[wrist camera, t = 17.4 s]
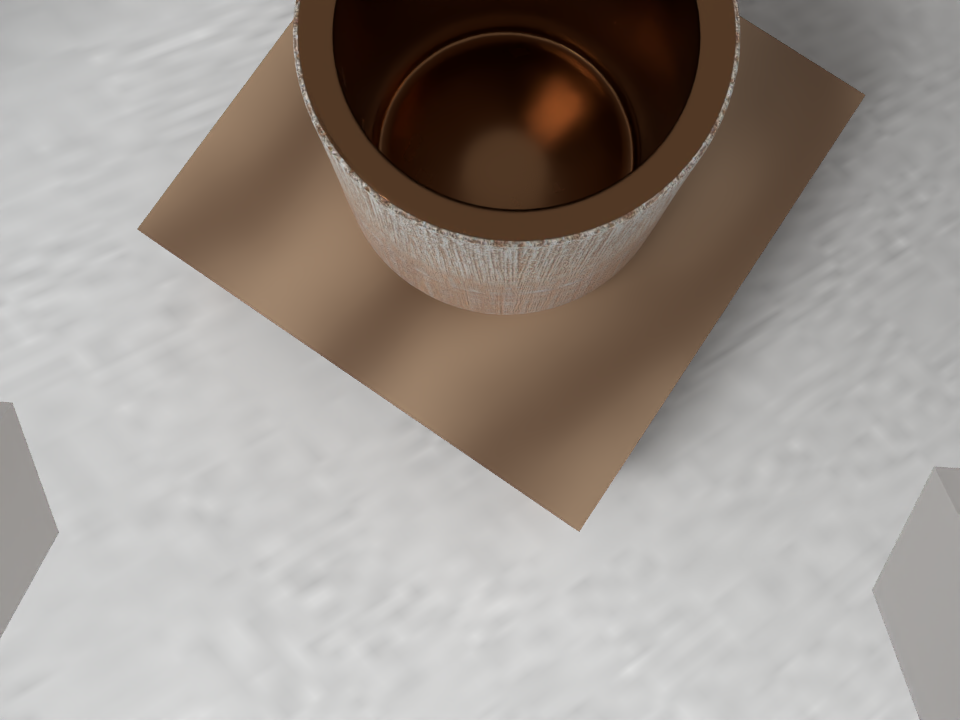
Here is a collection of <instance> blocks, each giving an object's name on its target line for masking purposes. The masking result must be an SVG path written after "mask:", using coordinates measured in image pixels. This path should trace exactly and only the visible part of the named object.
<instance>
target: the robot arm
mask: <svg viewBox="0 0 960 720" xmlns="http://www.w3.org/2000/svg"><path fill="white" fill-rule="evenodd" d="M58 533H59V532H58V529H57V526H56V523H55V521H54V518H53V515H52V512H51V509H50V507H49V504H48V501H47V498H46V495H45V493H44V490H43V487H42V484H41V481H40V479H39V476H38V473H37V470H36V467H35V465H34V462H33V459H32V456H31V453H30V451H29V448H28V445H27V442H26V439H25V437H24V434H23V431H22V428H21V425H20V423H19V420H18V417H17V414H16V411H15V409H14V406H13V403H9V402H0V638H1V636H2V634H3V632H4V631H5V629H6V627H7V625H8V623H9V621H10V620H11V618H12V616H13V614H14V612H15V611H16V609H17V607H18V605H19V603H20V602H21V600H22V598H23V596H24V594H25V593H26V591H27V589H28V587H29V585H30V584H31V582H32V580H33V578H34V576H35V575H36V573H37V571H38V569H39V567H40V565H41V564H42V562H43V560H44V558H45V556H46V555H47V553H48V551H49V549H50V547H51V546H52V544H53V542H54V540H55V538H56V537H57V535H58ZM872 591H873V593H874V596H875V599H876V602H877V604H878V607H879V610H880V613H881V615H882V618H883V621H884V623H885V626H886V629H887V632H888V634H889V637H890V640H891V643H892V645H893V648H894V651H895V653H896V656H897V659H898V662H899V664H900V667H901V670H902V672H903V675H904V678H905V681H906V683H907V686H908V689H909V692H910V694H911V697H912V700H913V702H914V705H915V708H916V711H917V713H918V716H919V719H920V720H960V469H959V468H945V467H934V468H933V470H932V472H931V474H930V476H929V478H928V480H927V482H926V484H925V486H924V488H923V490H922V492H921V494H920V496H919V498H918V500H917V502H916V504H915V506H914V508H913V510H912V512H911V514H910V516H909V518H908V520H907V522H906V524H905V526H904V528H903V530H902V532H901V534H900V536H899V538H898V540H897V542H896V544H895V546H894V548H893V550H892V552H891V554H890V556H889V558H888V560H887V562H886V564H885V566H884V568H883V570H882V572H881V574H880V576H879V577H878V579H877V581H876V583H875V585H874V587H873V589H872Z"/></svg>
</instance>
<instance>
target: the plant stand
mask: <svg viewBox="0 0 960 720" xmlns="http://www.w3.org/2000/svg"><path fill="white" fill-rule="evenodd" d="M739 18H740V55H739V63H738V70H737V75H736V80H735V84H734V89H733V92H732V95H731V98H730V102H729V105H728V107H727V110H726V112H725V115H724V117H723V120H722V122H721V124H720V126H719V128H718V130H717V132H716V134H715V136H714V138H713V139H712V141H711V143H710V144H709V146H708V148H707V149H706V151H705V152H704V154H703V155H702V157H701V158H700V160H699V161H698V163H697V164H696V165H695V167H694V168H693V170H692V171H691V172H690V174H689V175H688V177H687V178H686V180H685V181H684V183H683V184H682V185H681V187H680V188H679V190H678V191H677V193H676V194H675V196H674V197H673V199H672V201H671V202H670V204H669V205H668V207H667V208H666V210H665V211H664V213H663V214H662V216H661V218H660V219H659V221H658V222H657V224H656V225H655V227H654V228H653V230H652V231H651V233H650V234H649V236H648V237H647V239H646V240H645V242H644V243H643V244H642V246H641V247H640V249H639V250H638V251H637V253H636V254H635V255H634V256H633V257H632V258H631V260H630V261H629V262H628V263H627V264H626V265H625V266H624V267H623V268H622V269H621V270H620V271H619V272H618V273H616V274H615V275H614V276H613V277H612V278H610V279H609V280H608V281H606V282H605V283H604V284H602V285H601V286H599V287H598V288H596V289H595V290H593V291H591V292H590V293H588V294H586V295H584V296H582V297H580V298H578V299H576V300H573V301H571V302H569V303H566V304H563V305H560V306H557V307H554V308H551V309H548V310H543V311H539V312H534V313H527V314H515V315H496V314H485V313H479V312H473V311H469V310H465V309H461V308H458V307H455V306H452V305H449V304H446V303H444V302H441V301H439V300H437V299H435V298H433V297H431V296H429V295H427V294H425V293H424V292H422V291H420V290H419V289H417V288H415V287H414V286H412V285H411V284H410V283H408V282H407V281H405V280H404V279H403V278H401V277H400V276H399V275H398V274H397V273H396V272H394V271H393V270H392V269H391V268H390V267H389V266H388V265H387V264H386V263H385V262H384V261H383V260H382V258H381V257H380V256H379V255H378V254H377V253H376V251H375V250H374V249H373V247H372V246H371V245H370V243H369V242H368V240H367V239H366V237H365V235H364V234H363V232H362V230H361V229H360V227H359V225H358V223H357V221H356V219H355V216H354V214H353V212H352V210H351V208H350V205H349V203H348V201H347V198H346V196H345V194H344V191H343V189H342V186H341V184H340V182H339V179H338V177H337V175H336V172H335V170H334V168H333V166H332V163H331V161H330V159H329V157H328V154H327V152H326V150H325V148H324V146H323V144H322V141H321V139H320V137H319V135H318V133H317V131H316V129H315V127H314V124H313V122H312V120H311V117H310V115H309V112H308V110H307V108H306V105H305V102H304V99H303V95H302V92H301V89H300V85H299V81H298V76H297V72H296V65H295V58H294V47H293V21H292V22H291V23H290V25H289V26H288V27H287V29H286V30H285V31H284V33H283V34H282V35H281V37H280V38H279V39H278V41H277V42H276V43H275V45H274V46H273V47H272V49H271V50H270V51H269V53H268V54H267V55H266V57H265V58H264V59H263V61H262V62H261V64H260V65H259V66H258V68H257V69H256V70H255V72H254V73H253V74H252V76H251V77H250V78H249V80H248V81H247V82H246V84H245V85H244V86H243V88H242V89H241V90H240V92H239V93H238V94H237V96H236V97H235V98H234V100H233V101H232V103H231V104H230V105H229V107H228V108H227V109H226V111H225V112H224V113H223V115H222V116H221V117H220V119H219V120H218V121H217V123H216V124H215V125H214V127H213V128H212V129H211V131H210V132H209V133H208V135H207V136H206V137H205V139H204V140H203V141H202V143H201V144H200V146H199V147H198V148H197V150H196V151H195V152H194V154H193V155H192V156H191V158H190V159H189V160H188V162H187V163H186V164H185V166H184V167H183V168H182V170H181V171H180V172H179V174H178V175H177V176H176V178H175V179H174V180H173V182H172V183H171V185H170V186H169V187H168V189H167V190H166V191H165V193H164V194H163V195H162V197H161V198H160V199H159V201H158V202H157V203H156V205H155V206H154V207H153V209H152V210H151V211H150V213H149V214H148V215H147V217H146V218H145V219H144V221H143V222H142V223H141V225H140V226H139V228H138V230H139V231H141V232H142V233H143V234H145V235H146V236H148V237H149V238H151V239H152V240H153V241H155V242H156V243H158V244H159V245H161V246H162V247H164V248H165V249H167V250H168V251H169V252H171V253H172V254H174V255H175V256H177V257H178V258H180V259H181V260H183V261H184V262H186V263H187V264H188V265H190V266H191V267H193V268H194V269H196V270H197V271H199V272H200V273H202V274H203V275H205V276H206V277H207V278H209V279H210V280H212V281H213V282H215V283H216V284H218V285H219V286H221V287H222V288H224V289H225V290H226V291H228V292H229V293H231V294H232V295H234V296H235V297H237V298H238V299H240V300H241V301H243V302H244V303H245V304H247V305H248V306H250V307H251V308H253V309H254V310H256V311H257V312H259V313H260V314H262V315H263V316H264V317H266V318H267V319H269V320H270V321H272V322H273V323H275V324H276V325H278V326H279V327H281V328H282V329H283V330H285V331H286V332H288V333H289V334H291V335H292V336H294V337H295V338H297V339H298V340H300V341H301V342H302V343H304V344H305V345H307V346H308V347H310V348H311V349H313V350H314V351H316V352H317V353H319V354H320V355H321V356H323V357H324V358H326V359H327V360H329V361H330V362H332V363H333V364H335V365H336V366H338V367H339V368H340V369H342V370H343V371H345V372H346V373H348V374H349V375H351V376H352V377H354V378H355V379H357V380H358V381H359V382H361V383H362V384H364V385H365V386H367V387H368V388H370V389H371V390H373V391H374V392H376V393H377V394H378V395H380V396H381V397H383V398H384V399H386V400H387V401H389V402H390V403H392V404H393V405H395V406H396V407H397V408H399V409H400V410H402V411H403V412H405V413H406V414H408V415H409V416H411V417H412V418H414V419H415V420H416V421H418V422H419V423H421V424H422V425H424V426H425V427H427V428H428V429H430V430H431V431H433V432H434V433H435V434H437V435H438V436H440V437H441V438H443V439H444V440H446V441H447V442H449V443H450V444H452V445H453V446H454V447H456V448H457V449H459V450H460V451H462V452H463V453H465V454H466V455H468V456H469V457H471V458H472V459H473V460H475V461H476V462H478V463H479V464H481V465H482V466H484V467H485V468H487V469H488V470H490V471H491V472H492V473H494V474H495V475H497V476H498V477H500V478H501V479H503V480H504V481H506V482H507V483H509V484H510V485H511V486H513V487H514V488H516V489H517V490H519V491H520V492H522V493H523V494H525V495H526V496H528V497H529V498H530V499H532V500H533V501H535V502H536V503H538V504H539V505H541V506H542V507H544V508H545V509H547V510H548V511H549V512H551V513H552V514H554V515H555V516H557V517H558V518H560V519H561V520H563V521H564V522H566V523H567V524H568V525H570V526H571V527H573V528H574V529H576V530H577V531H580V530H581V528H582V526H583V525H584V523H585V522H586V520H587V519H588V517H589V516H590V514H591V513H592V511H593V510H594V508H595V507H596V505H597V504H598V502H599V501H600V499H601V498H602V496H603V494H604V493H605V491H606V490H607V488H608V487H609V485H610V484H611V482H612V481H613V479H614V478H615V476H616V475H617V473H618V472H619V470H620V469H621V467H622V466H623V464H624V462H625V461H626V459H627V458H628V456H629V455H630V453H631V452H632V450H633V449H634V447H635V446H636V444H637V443H638V441H639V440H640V438H641V437H642V435H643V434H644V432H645V430H646V429H647V427H648V426H649V424H650V423H651V421H652V420H653V418H654V417H655V415H656V414H657V412H658V411H659V409H660V408H661V406H662V405H663V403H664V401H665V400H666V398H667V397H668V395H669V394H670V392H671V391H672V389H673V388H674V386H675V385H676V383H677V382H678V380H679V379H680V377H681V376H682V374H683V373H684V371H685V369H686V368H687V366H688V365H689V363H690V362H691V360H692V359H693V357H694V356H695V354H696V353H697V351H698V350H699V348H700V347H701V345H702V344H703V342H704V341H705V339H706V337H707V336H708V334H709V333H710V331H711V330H712V328H713V327H714V325H715V324H716V322H717V321H718V319H719V318H720V316H721V315H722V313H723V312H724V310H725V309H726V307H727V305H728V304H729V302H730V301H731V299H732V298H733V296H734V295H735V293H736V292H737V290H738V289H739V287H740V286H741V284H742V283H743V281H744V280H745V278H746V276H747V275H748V273H749V272H750V270H751V269H752V267H753V266H754V264H755V263H756V261H757V260H758V258H759V257H760V255H761V254H762V252H763V251H764V249H765V248H766V246H767V244H768V243H769V241H770V240H771V238H772V237H773V235H774V234H775V232H776V231H777V229H778V228H779V226H780V225H781V223H782V222H783V220H784V219H785V217H786V216H787V214H788V212H789V211H790V209H791V208H792V206H793V205H794V203H795V202H796V200H797V199H798V197H799V196H800V194H801V193H802V191H803V190H804V188H805V187H806V185H807V184H808V182H809V180H810V179H811V177H812V176H813V174H814V173H815V171H816V170H817V168H818V167H819V165H820V164H821V162H822V161H823V159H824V158H825V156H826V155H827V153H828V151H829V150H830V148H831V147H832V145H833V144H834V142H835V141H836V139H837V138H838V136H839V135H840V133H841V132H842V130H843V129H844V127H845V126H846V124H847V123H848V121H849V119H850V118H851V116H852V115H853V113H854V112H855V110H856V109H857V107H858V106H859V104H860V103H861V101H862V100H863V98H864V97H865V95H864V94H863V93H861V92H860V91H858V90H857V89H855V88H853V87H852V86H850V85H849V84H847V83H845V82H844V81H842V80H841V79H839V78H837V77H836V76H834V75H833V74H831V73H830V72H828V71H826V70H825V69H823V68H822V67H820V66H818V65H817V64H815V63H814V62H812V61H810V60H809V59H807V58H806V57H804V56H803V55H801V54H799V53H798V52H796V51H795V50H793V49H791V48H790V47H788V46H787V45H785V44H783V43H782V42H780V41H779V40H777V39H776V38H774V37H772V36H771V35H769V34H768V33H766V32H764V31H763V30H761V29H760V28H758V27H756V26H755V25H753V24H752V23H750V22H749V21H747V20H745V19H744V18H742V17H741V16H739Z"/></svg>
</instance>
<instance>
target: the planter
mask: <svg viewBox="0 0 960 720" xmlns="http://www.w3.org/2000/svg"><path fill="white" fill-rule="evenodd" d="M293 47H294V58H295V65H296V72H297V76H298V81H299V85H300V89H301V92H302V95H303V99H304V102H305V105H306V108H307V110H308V112H309V115H310V117H311V120H312V122H313V124H314V127H315V129H316V131H317V133H318V135H319V137H320V139H321V141H322V144H323V146H324V148H325V150H326V152H327V154H328V157H329V159H330V161H331V163H332V166H333V168H334V170H335V172H336V175H337V177H338V179H339V182H340V184H341V186H342V189H343V191H344V194H345V196H346V198H347V201H348V203H349V205H350V208H351V210H352V212H353V214H354V216H355V219H356V221H357V223H358V225H359V227H360V229H361V230H362V232H363V234H364V235H365V237H366V239H367V240H368V242H369V243H370V245H371V246H372V247H373V249H374V250H375V251H376V253H377V254H378V255H379V256H380V257H381V258H382V260H383V261H384V262H385V263H386V264H387V265H388V266H389V267H390V268H391V269H392V270H393V271H394V272H396V273H397V274H398V275H399V276H400V277H401V278H403V279H404V280H405V281H407V282H408V283H410V284H411V285H412V286H414V287H415V288H417V289H419V290H420V291H422V292H424V293H425V294H427V295H429V296H431V297H433V298H435V299H437V300H439V301H441V302H444V303H446V304H449V305H452V306H455V307H458V308H461V309H465V310H469V311H473V312H479V313H485V314H496V315H515V314H527V313H534V312H539V311H543V310H548V309H551V308H554V307H557V306H560V305H563V304H566V303H569V302H571V301H573V300H576V299H578V298H580V297H582V296H584V295H586V294H588V293H590V292H591V291H593V290H595V289H596V288H598V287H599V286H601V285H602V284H604V283H605V282H606V281H608V280H609V279H610V278H612V277H613V276H614V275H615V274H616V273H618V272H619V271H620V270H621V269H622V268H623V267H624V266H625V265H626V264H627V263H628V262H629V261H630V260H631V258H632V257H633V256H634V255H635V254H636V253H637V251H638V250H639V249H640V247H641V246H642V244H643V243H644V242H645V240H646V239H647V237H648V236H649V234H650V233H651V231H652V230H653V228H654V227H655V225H656V224H657V222H658V221H659V219H660V218H661V216H662V214H663V213H664V211H665V210H666V208H667V207H668V205H669V204H670V202H671V201H672V199H673V197H674V196H675V194H676V193H677V191H678V190H679V188H680V187H681V185H682V184H683V183H684V181H685V180H686V178H687V177H688V175H689V174H690V172H691V171H692V170H693V168H694V167H695V165H696V164H697V163H698V161H699V160H700V158H701V157H702V155H703V154H704V152H705V151H706V149H707V148H708V146H709V144H710V143H711V141H712V139H713V138H714V136H715V134H716V132H717V130H718V128H719V126H720V124H721V122H722V120H723V117H724V115H725V112H726V110H727V107H728V105H729V102H730V98H731V95H732V92H733V89H734V84H735V80H736V75H737V70H738V63H739V55H740V18H739V9H738V2H737V0H296V2H295V10H294V19H293Z"/></svg>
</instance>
